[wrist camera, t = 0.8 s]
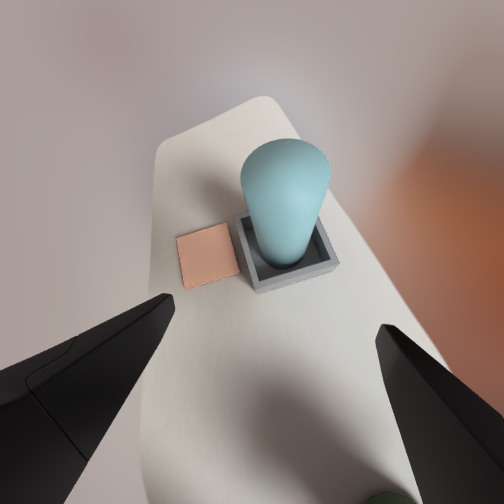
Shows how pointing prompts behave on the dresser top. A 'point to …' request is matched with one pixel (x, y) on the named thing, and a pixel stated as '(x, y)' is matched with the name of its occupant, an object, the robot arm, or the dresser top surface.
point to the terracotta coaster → (207, 256)
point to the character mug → (390, 499)
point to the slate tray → (268, 278)
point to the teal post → (284, 197)
